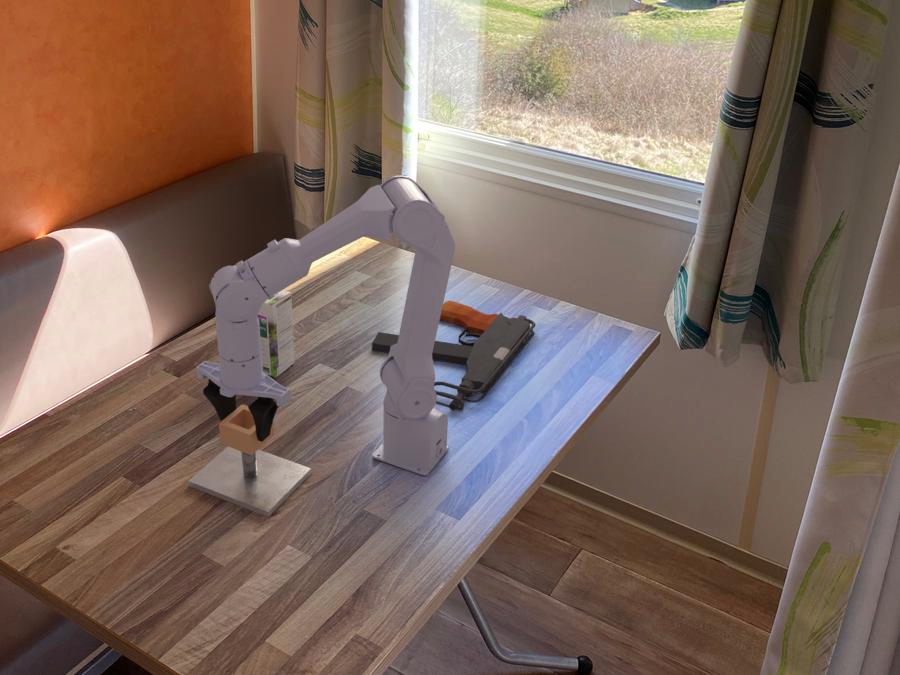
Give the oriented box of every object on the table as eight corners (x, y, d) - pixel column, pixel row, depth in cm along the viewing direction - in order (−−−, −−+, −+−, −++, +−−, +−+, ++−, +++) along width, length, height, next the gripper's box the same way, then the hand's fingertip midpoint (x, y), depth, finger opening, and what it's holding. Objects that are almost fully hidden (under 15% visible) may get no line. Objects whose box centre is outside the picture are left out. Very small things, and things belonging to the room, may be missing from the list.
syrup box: (249, 369, 170) (243, 296, 162) (269, 353, 174) (264, 282, 167) (275, 378, 168) (271, 305, 160) (296, 362, 172) (292, 290, 165)
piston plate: (311, 473, 146) (309, 444, 143) (268, 517, 138) (266, 487, 135) (234, 445, 151) (232, 417, 149) (188, 486, 143) (185, 456, 140)
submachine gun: (420, 289, 193) (539, 319, 184) (419, 301, 194) (538, 331, 185) (338, 367, 168) (472, 405, 159) (339, 380, 169) (471, 419, 161)
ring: (274, 435, 142) (273, 415, 140) (251, 455, 138) (250, 435, 136) (243, 424, 144) (242, 404, 142) (220, 443, 140) (218, 423, 138)
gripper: (178, 350, 132) (188, 430, 139) (266, 379, 127) (272, 462, 134) (211, 327, 138) (219, 405, 145) (297, 354, 133) (301, 434, 140)
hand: (246, 431), depth 140 cm, fingers closed on ring, 5 cm apart
